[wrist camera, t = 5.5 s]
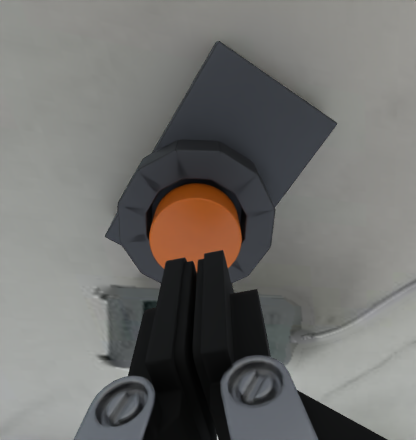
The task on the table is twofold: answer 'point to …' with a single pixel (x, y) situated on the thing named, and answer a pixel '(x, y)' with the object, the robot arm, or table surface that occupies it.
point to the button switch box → (224, 156)
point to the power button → (195, 225)
